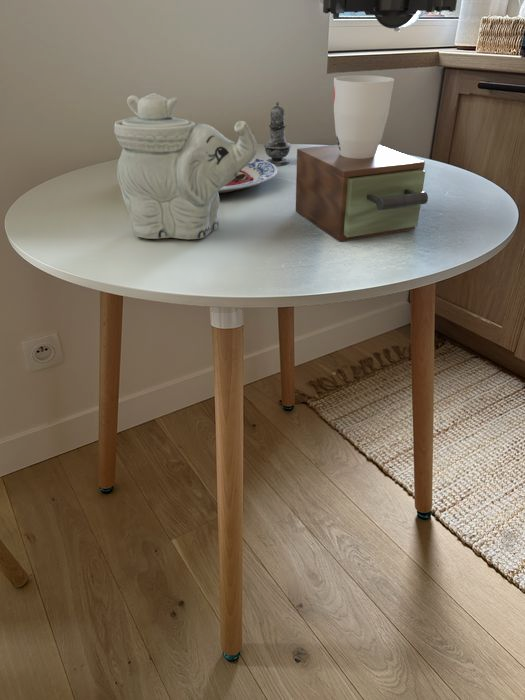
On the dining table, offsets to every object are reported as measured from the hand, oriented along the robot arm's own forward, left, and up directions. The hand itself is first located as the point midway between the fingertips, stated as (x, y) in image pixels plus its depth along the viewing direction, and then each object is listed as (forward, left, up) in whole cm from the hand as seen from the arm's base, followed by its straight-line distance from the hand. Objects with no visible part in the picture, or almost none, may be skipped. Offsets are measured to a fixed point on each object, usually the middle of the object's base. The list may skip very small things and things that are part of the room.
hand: (380, 1), depth 77 cm
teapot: (+22, +22, -29) cm, 42 cm away
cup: (0, +10, -19) cm, 21 cm away
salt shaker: (+22, -22, -29) cm, 43 cm away
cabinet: (0, +10, -29) cm, 30 cm away
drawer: (-3, +13, -28) cm, 31 cm away
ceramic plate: (+30, -4, -29) cm, 42 cm away
